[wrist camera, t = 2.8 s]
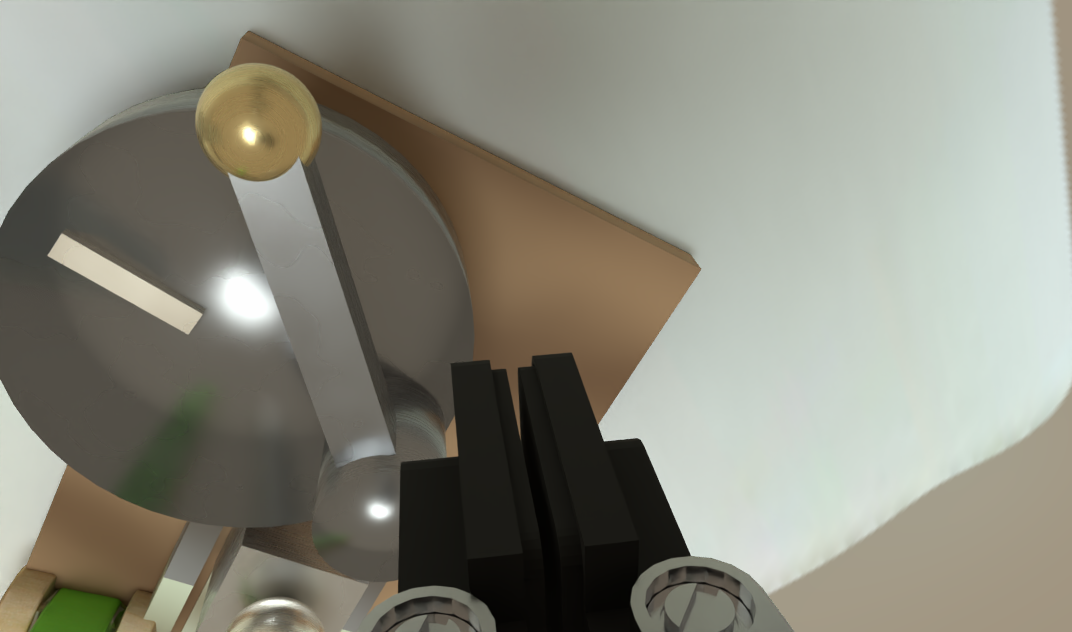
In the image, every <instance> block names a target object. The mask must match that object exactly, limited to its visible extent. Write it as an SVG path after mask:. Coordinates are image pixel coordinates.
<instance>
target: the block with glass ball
mask: <svg viewBox="0 0 1072 632" xmlns="http://www.w3.org/2000/svg"><path fill="white" fill-rule="evenodd" d="M312 521H313V520H311V521H306V522H302V523H297V524H292V525H282V526H273V527H249V528H236V527H232V529H231V531H230V533H229V535H228V537H227V539H226V541H225V543H224V545H223V547H222V549H221V551H220V553H219V555H218V557H217V558H216V561H215V564H214V568H213V571H212V575H211V578H210V582H209V585H208V589H207V592H206V596H205V600H204V603H203V607H202V610H201V614H200V617H199V621H198V624H197V628H196V631H195V632H341V630H342V629H343V627H344V625H345V624H346V622H347V620H348V618H349V617H350V615H351V613H352V612H353V610H354V608H355V607H356V605H357V603H358V602H359V600H360V598H361V597H362V595H363V593H364V592H365V590H366V588H367V587H368V585H369V581H363V580H358V579H355V578H351V577H349V576H346V575H344V574H342V573H340V572H338V571H337V570H335V569H334V568H332V567H331V566H330V565H329V564H327V563H326V562H325V561H324V560H323V558H322V557H321V556H320V555H319V553H318V551H317V549H316V547H315V545H314V542H313V538H312Z"/></svg>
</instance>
